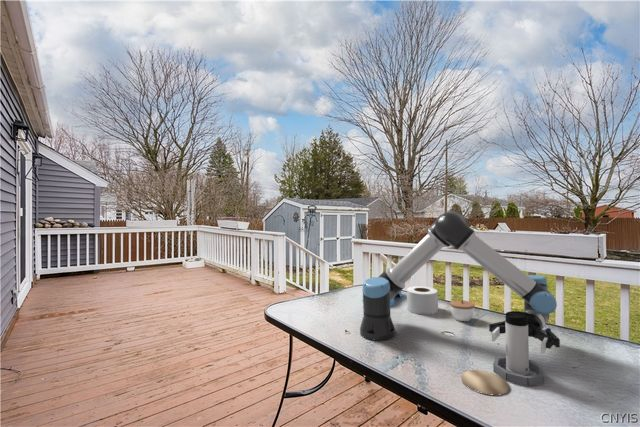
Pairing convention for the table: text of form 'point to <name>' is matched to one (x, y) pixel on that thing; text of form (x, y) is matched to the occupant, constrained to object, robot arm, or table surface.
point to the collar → (518, 378)
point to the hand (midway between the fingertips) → (516, 342)
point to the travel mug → (517, 342)
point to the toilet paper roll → (422, 300)
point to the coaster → (485, 382)
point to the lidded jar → (462, 310)
